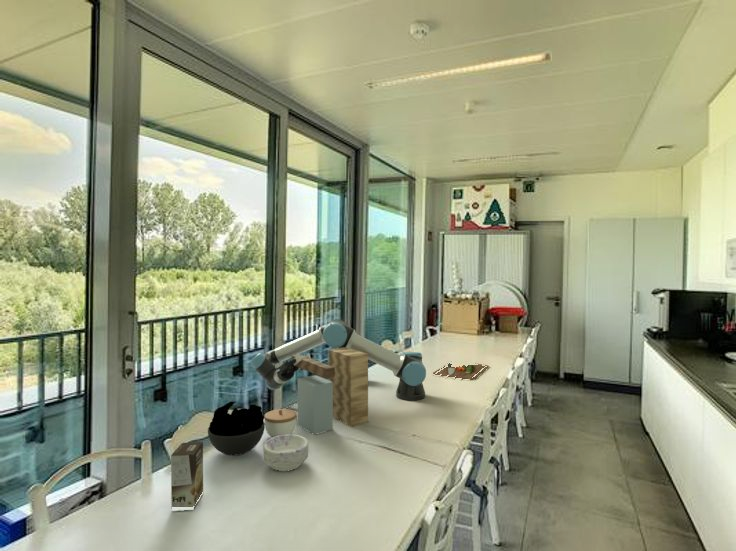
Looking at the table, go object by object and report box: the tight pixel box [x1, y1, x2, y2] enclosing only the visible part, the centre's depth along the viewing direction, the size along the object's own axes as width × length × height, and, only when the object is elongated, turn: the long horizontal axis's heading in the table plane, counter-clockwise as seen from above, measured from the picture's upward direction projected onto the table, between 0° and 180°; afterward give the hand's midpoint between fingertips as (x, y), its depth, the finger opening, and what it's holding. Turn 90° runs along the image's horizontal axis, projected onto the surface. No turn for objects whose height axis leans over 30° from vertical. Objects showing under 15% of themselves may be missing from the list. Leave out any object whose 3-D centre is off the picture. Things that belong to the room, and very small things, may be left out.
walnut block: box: [291, 353, 335, 380], centre depth 186 cm, size 30×4×4 cm, turn 37°
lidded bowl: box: [263, 408, 298, 438], centre depth 174 cm, size 13×13×11 cm
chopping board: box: [432, 362, 490, 381], centre depth 281 cm, size 45×27×3 cm, turn 151°
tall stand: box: [328, 348, 369, 427], centre depth 194 cm, size 18×9×30 cm, turn 37°
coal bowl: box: [207, 401, 266, 457], centre depth 159 cm, size 20×20×19 cm
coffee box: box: [170, 441, 204, 508], centre depth 126 cm, size 9×6×16 cm
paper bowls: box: [262, 434, 309, 472], centre depth 150 cm, size 15×15×8 cm
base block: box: [296, 374, 334, 435], centre depth 184 cm, size 14×9×20 cm, turn 37°
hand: (304, 356), depth 191 cm, fingers closed on walnut block, 4 cm apart
